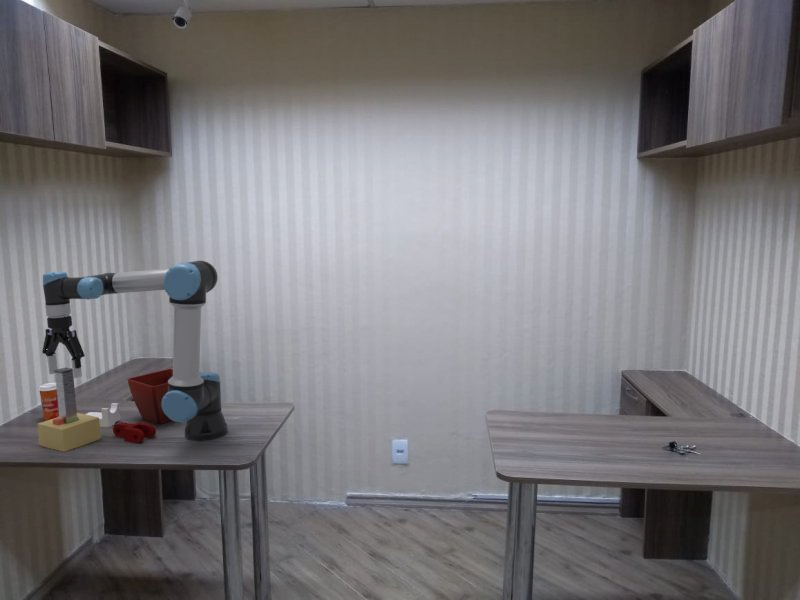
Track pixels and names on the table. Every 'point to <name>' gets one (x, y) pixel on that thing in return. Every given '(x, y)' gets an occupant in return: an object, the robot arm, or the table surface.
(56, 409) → the paper cup
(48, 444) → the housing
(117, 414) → the bracket
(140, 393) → the plant pot
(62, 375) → the column
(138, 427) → the mechanical linkage
